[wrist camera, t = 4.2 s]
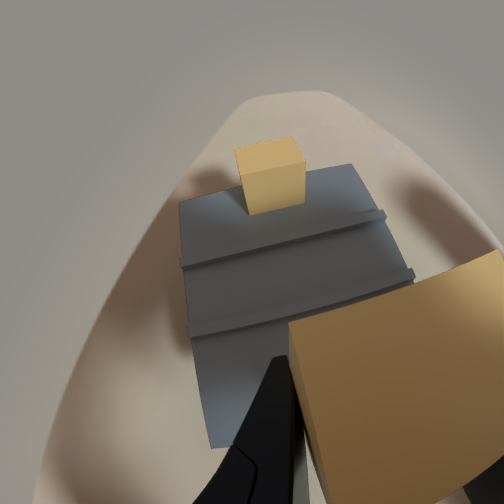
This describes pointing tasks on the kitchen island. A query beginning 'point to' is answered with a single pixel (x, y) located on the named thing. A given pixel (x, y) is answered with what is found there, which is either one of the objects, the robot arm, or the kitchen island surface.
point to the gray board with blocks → (343, 331)
